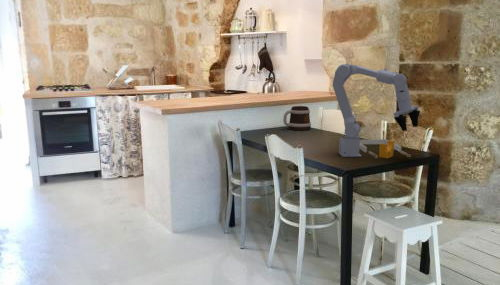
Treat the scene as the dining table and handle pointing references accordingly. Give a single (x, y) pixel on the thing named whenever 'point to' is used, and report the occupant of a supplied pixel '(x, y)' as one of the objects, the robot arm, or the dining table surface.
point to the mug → (298, 118)
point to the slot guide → (400, 152)
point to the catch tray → (376, 141)
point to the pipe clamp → (386, 150)
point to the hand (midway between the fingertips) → (410, 128)
